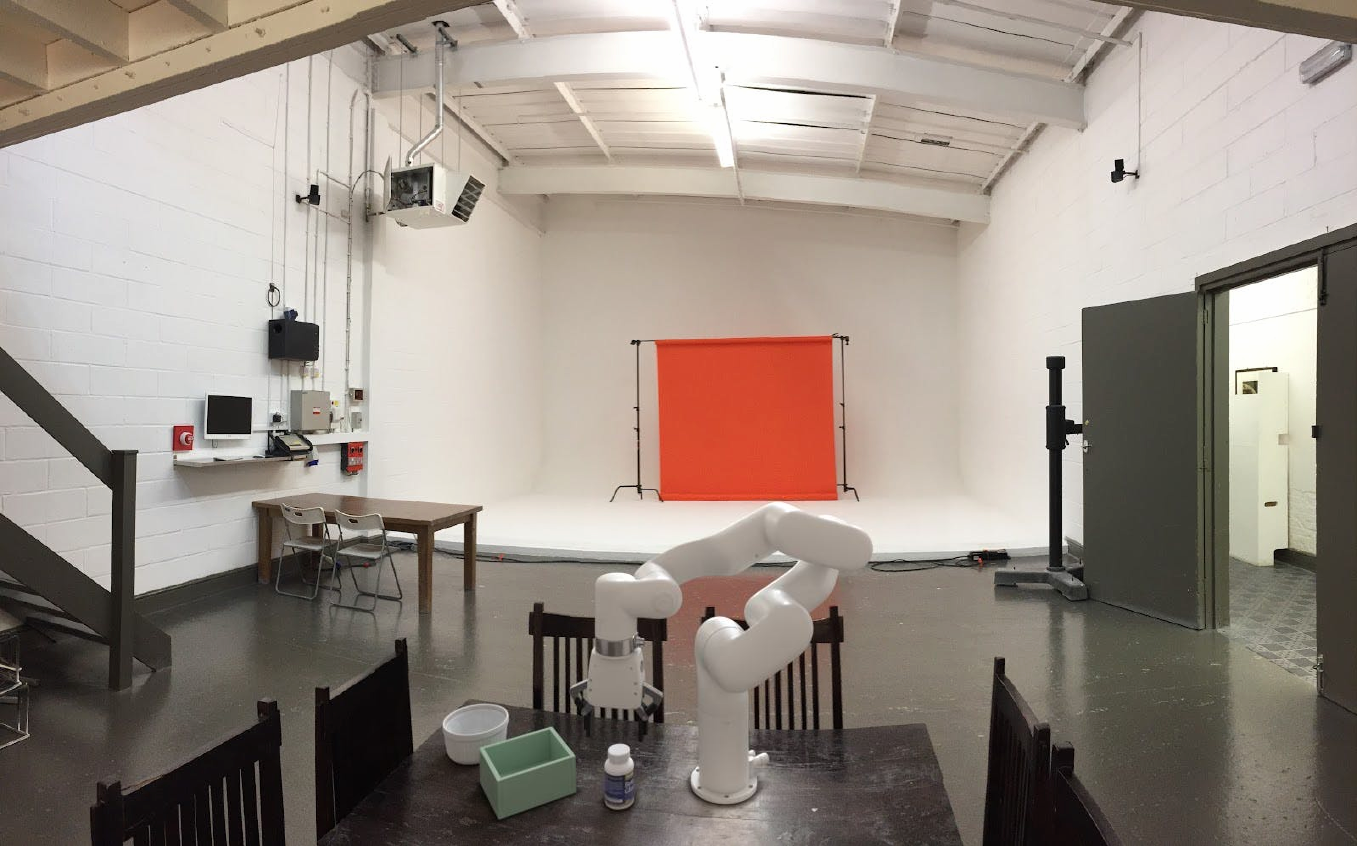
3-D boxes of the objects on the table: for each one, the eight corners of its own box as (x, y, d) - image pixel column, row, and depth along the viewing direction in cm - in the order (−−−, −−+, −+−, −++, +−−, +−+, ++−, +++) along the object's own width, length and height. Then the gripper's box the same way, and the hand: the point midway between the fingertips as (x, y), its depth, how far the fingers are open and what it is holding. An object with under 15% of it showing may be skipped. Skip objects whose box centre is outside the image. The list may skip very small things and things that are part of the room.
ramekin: (513, 731, 144) (512, 700, 143) (504, 766, 131) (503, 732, 130) (451, 736, 142) (450, 705, 142) (436, 771, 129) (435, 737, 129)
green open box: (552, 759, 133) (551, 726, 132) (576, 792, 122) (575, 755, 122) (480, 782, 125) (479, 747, 125) (498, 819, 114) (497, 781, 114)
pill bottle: (629, 812, 116) (628, 759, 115) (600, 808, 117) (599, 756, 117) (637, 793, 121) (636, 742, 121) (610, 790, 122) (609, 739, 122)
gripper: (666, 638, 120) (666, 729, 121) (576, 632, 123) (576, 721, 123) (659, 655, 112) (659, 751, 113) (563, 648, 115) (563, 742, 116)
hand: (616, 735), depth 118 cm, fingers open, 9 cm apart
